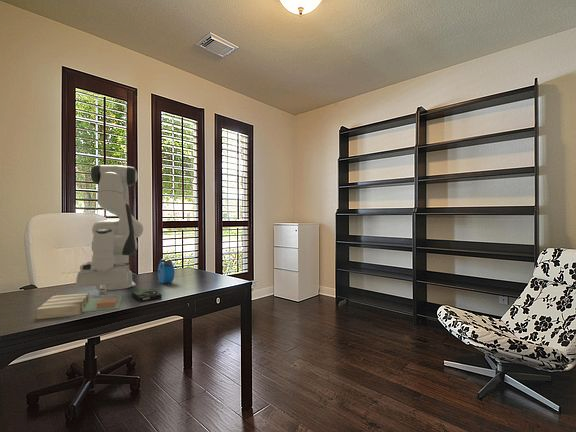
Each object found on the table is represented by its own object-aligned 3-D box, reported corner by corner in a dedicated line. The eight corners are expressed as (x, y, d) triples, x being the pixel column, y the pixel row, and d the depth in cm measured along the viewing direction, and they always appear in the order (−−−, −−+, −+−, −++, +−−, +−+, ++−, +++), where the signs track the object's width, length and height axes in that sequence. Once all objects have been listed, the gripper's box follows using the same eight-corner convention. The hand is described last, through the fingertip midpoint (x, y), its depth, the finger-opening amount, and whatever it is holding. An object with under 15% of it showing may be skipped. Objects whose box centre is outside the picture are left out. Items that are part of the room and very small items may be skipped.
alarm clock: (174, 284, 182) (174, 259, 182) (164, 285, 178) (164, 260, 178) (167, 280, 192) (167, 257, 192) (157, 281, 188) (157, 258, 188)
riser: (52, 304, 137) (52, 295, 137) (88, 301, 143) (88, 292, 143) (36, 319, 117) (36, 309, 117) (79, 314, 123) (79, 305, 123)
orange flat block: (117, 296, 143) (116, 300, 143) (100, 298, 140) (99, 302, 140) (115, 302, 134) (114, 306, 134) (96, 303, 131) (96, 308, 131)
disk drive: (161, 299, 149) (152, 293, 161) (162, 294, 149) (152, 288, 161) (139, 303, 143) (131, 296, 154) (139, 297, 143) (131, 291, 154)
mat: (89, 299, 146) (89, 298, 146) (122, 296, 152) (122, 295, 152) (80, 312, 126) (80, 311, 126) (118, 308, 132) (118, 307, 132)
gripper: (129, 262, 144) (128, 290, 144) (78, 264, 135) (77, 295, 135) (128, 264, 138) (128, 293, 138) (75, 266, 129) (74, 298, 129)
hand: (102, 294), depth 136 cm, fingers closed
